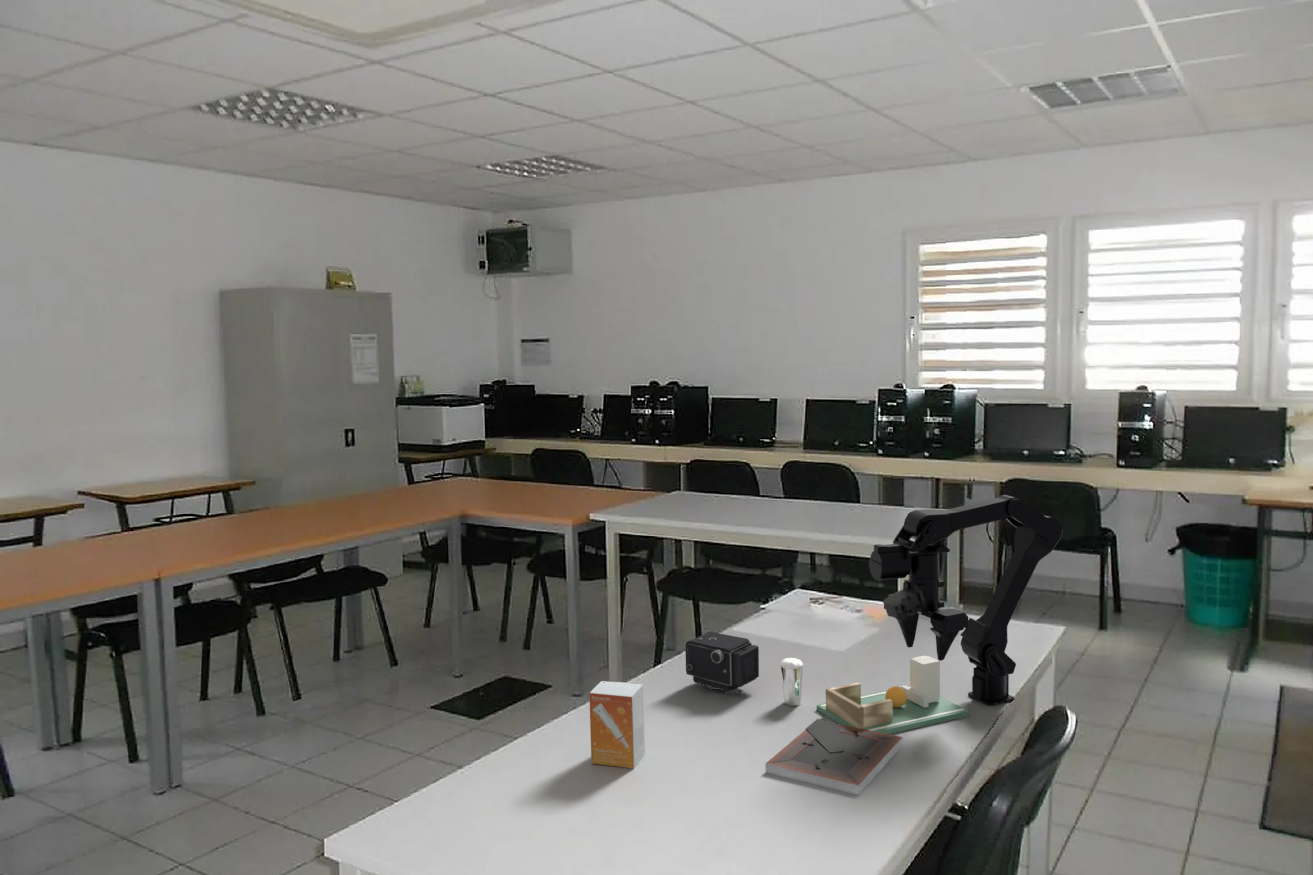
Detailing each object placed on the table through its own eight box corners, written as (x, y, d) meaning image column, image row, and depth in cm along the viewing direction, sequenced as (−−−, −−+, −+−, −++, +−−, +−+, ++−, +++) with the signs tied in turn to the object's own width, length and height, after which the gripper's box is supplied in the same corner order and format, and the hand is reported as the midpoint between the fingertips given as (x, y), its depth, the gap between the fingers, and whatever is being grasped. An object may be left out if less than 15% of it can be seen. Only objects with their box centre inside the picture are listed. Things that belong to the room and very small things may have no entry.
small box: (590, 764, 165) (588, 692, 164) (603, 749, 171) (601, 679, 170) (634, 769, 162) (632, 696, 161) (646, 754, 169) (643, 683, 167)
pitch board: (915, 689, 196) (915, 684, 196) (969, 715, 181) (969, 710, 181) (816, 709, 186) (816, 704, 186) (865, 739, 172) (865, 733, 172)
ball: (897, 701, 187) (897, 682, 186) (910, 708, 183) (910, 688, 183) (881, 705, 185) (881, 685, 185) (894, 712, 181) (893, 692, 181)
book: (817, 731, 178) (765, 776, 160) (816, 718, 178) (765, 762, 160) (902, 749, 169) (858, 799, 151) (902, 735, 169) (858, 784, 151)
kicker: (921, 691, 191) (921, 653, 190) (944, 703, 184) (944, 663, 184) (901, 696, 189) (901, 657, 188) (924, 707, 182) (924, 667, 182)
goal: (857, 702, 187) (857, 682, 187) (892, 721, 177) (892, 700, 177) (825, 708, 184) (825, 688, 184) (859, 729, 174) (859, 708, 174)
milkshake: (807, 708, 187) (806, 659, 186) (780, 706, 188) (779, 658, 188) (808, 699, 192) (807, 651, 191) (781, 698, 193) (780, 650, 192)
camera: (682, 695, 200) (741, 702, 190) (676, 642, 199) (734, 647, 190) (711, 679, 208) (769, 686, 198) (705, 628, 207) (763, 633, 198)
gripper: (861, 571, 190) (862, 647, 191) (922, 592, 173) (923, 675, 174) (906, 564, 194) (907, 638, 196) (970, 583, 177) (970, 664, 178)
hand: (925, 653), depth 186 cm, fingers open, 9 cm apart
